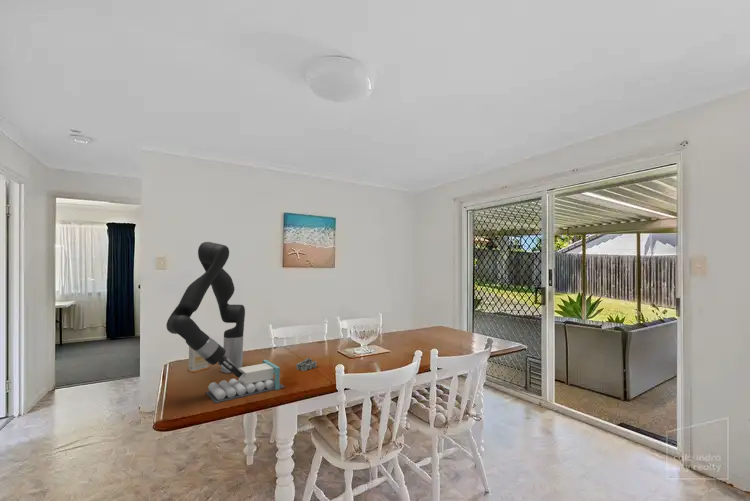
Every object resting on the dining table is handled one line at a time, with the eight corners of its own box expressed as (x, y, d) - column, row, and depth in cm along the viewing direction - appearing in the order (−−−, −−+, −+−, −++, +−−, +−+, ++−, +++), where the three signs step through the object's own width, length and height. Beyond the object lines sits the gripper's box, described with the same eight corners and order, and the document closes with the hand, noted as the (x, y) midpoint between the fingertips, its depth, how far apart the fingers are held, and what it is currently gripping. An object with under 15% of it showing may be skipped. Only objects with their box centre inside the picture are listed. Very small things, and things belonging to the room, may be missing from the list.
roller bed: (214, 403, 134) (215, 392, 134) (205, 392, 144) (206, 382, 145) (284, 387, 152) (285, 378, 152) (272, 379, 163) (272, 370, 163)
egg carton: (309, 364, 188) (309, 357, 188) (318, 367, 183) (319, 359, 183) (293, 369, 180) (294, 361, 180) (303, 372, 175) (303, 363, 175)
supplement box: (203, 367, 179) (204, 341, 180) (208, 369, 176) (209, 343, 177) (187, 371, 172) (188, 344, 173) (192, 373, 170) (193, 346, 170)
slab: (245, 384, 144) (245, 373, 144) (238, 378, 151) (238, 367, 151) (273, 378, 151) (273, 368, 151) (265, 373, 158) (265, 363, 158)
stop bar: (275, 390, 149) (276, 368, 149) (262, 380, 161) (262, 360, 161) (279, 389, 150) (279, 367, 150) (265, 379, 162) (266, 359, 162)
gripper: (222, 346, 136) (252, 371, 143) (213, 340, 146) (241, 364, 154) (207, 362, 133) (238, 387, 140) (199, 354, 143) (228, 378, 150)
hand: (240, 375), depth 147 cm, fingers closed
